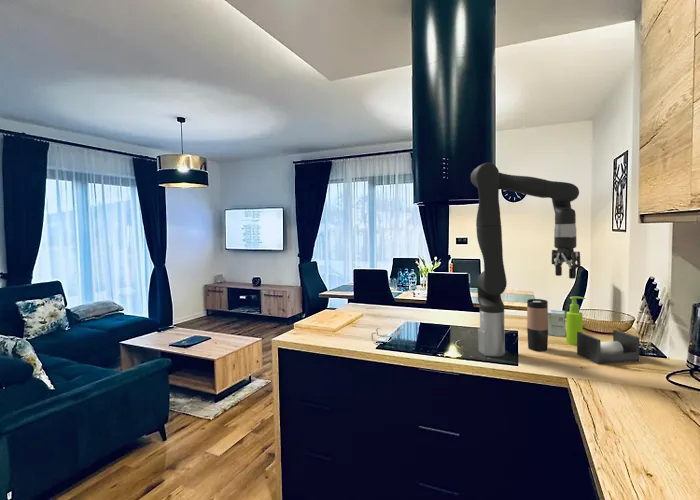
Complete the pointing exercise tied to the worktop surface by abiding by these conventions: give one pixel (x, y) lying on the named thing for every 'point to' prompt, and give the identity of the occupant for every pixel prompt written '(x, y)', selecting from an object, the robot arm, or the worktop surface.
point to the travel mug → (537, 324)
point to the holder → (591, 351)
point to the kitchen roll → (611, 347)
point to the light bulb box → (556, 323)
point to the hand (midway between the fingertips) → (565, 277)
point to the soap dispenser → (573, 321)
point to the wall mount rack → (384, 336)
